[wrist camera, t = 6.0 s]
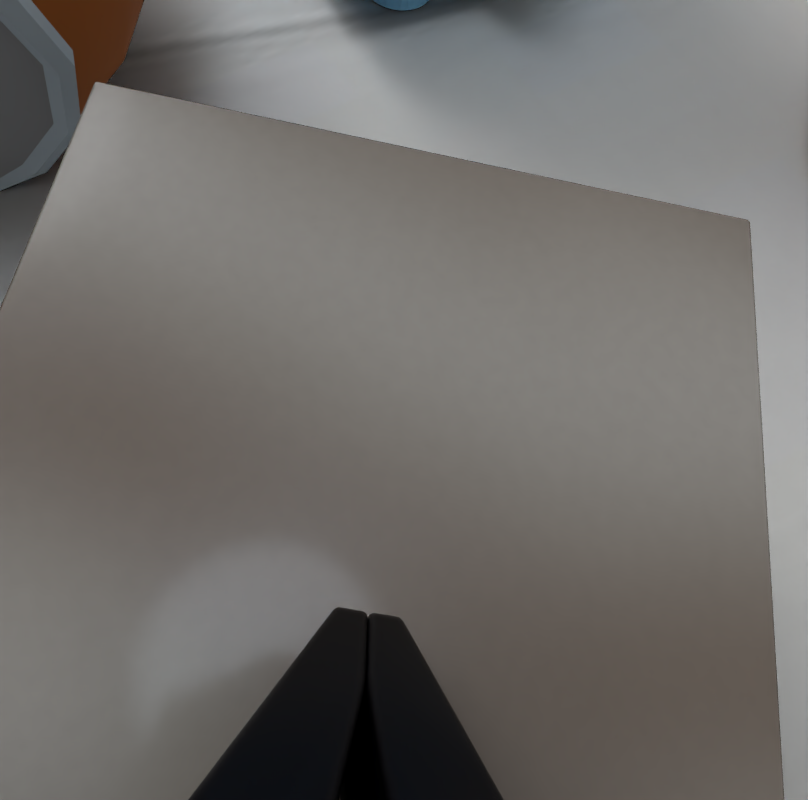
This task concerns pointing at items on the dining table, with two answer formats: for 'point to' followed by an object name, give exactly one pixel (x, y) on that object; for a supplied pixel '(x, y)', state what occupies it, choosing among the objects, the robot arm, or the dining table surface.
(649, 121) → the dining table surface
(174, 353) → the grey square plate
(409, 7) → the teapot
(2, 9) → the alarm clock
